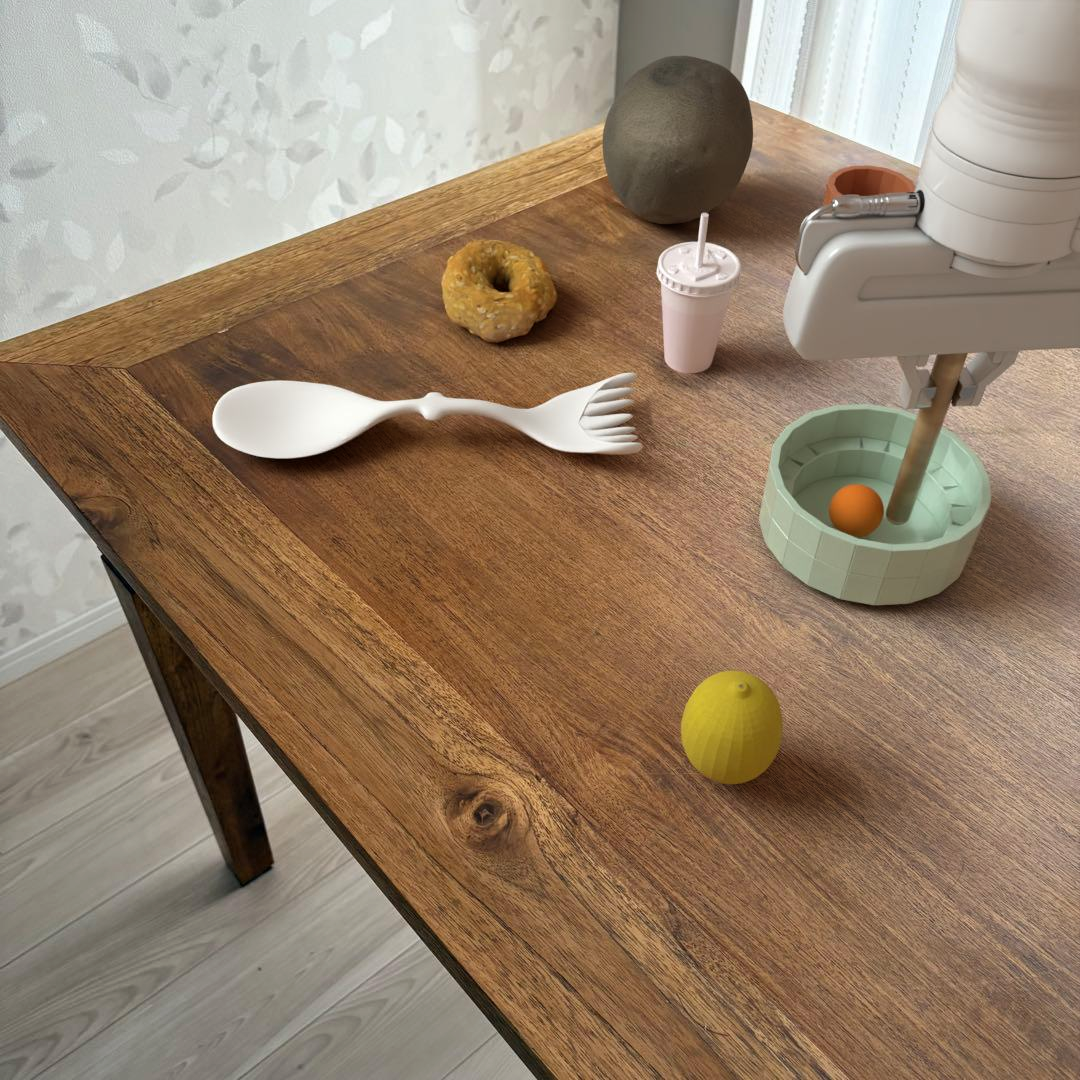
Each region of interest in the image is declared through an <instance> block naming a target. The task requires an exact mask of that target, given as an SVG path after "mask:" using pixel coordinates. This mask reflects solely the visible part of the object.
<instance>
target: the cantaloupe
mask: <svg viewBox="0 0 1080 1080" xmlns="http://www.w3.org/2000/svg"><path fill="white" fill-rule="evenodd" d="M749 99H750V98H749V95H748V93H747V91H746V90H745V87H744V85H743V84H742V83H741V81H740V80H739V79H738V78H737V77H736V75H735V74H734V73H732V71H731V70H729V69H728V68H727V67H725V66H723V65H721V64H719V63H716V62H713V61H711V60H707V59H703V58H700V57H696V56H690V55H670V56H664V57H661V58H658V59H657V60H653V61H652V62H650V63H648V64H646V65H645V66H644V67H643V68H640V69H639V70H637V71H636V72H635V73H633V74H632V76H631V77H629V79H628V80H627V81H626V82H625V83H624V84H623V85H622V87H621V89H620V90H619V92H618V93H617V95H616V97H615V100H614V102H613V103H612V105H611V106H610V109H609V110H608V112H607V115H606V118H605V122H604V126H603V132H602V147H601V148H602V157H603V163H604V167H605V171H606V175H607V178H608V181H609V184H610V186H611V188H612V191H613V192H614V194H615V196H616V197H617V198H618V201H619V202H621V203H622V204H623V205H624V206H625V207H626V208H627V209H628V210H629V211H630V212H632V213H633V214H634V215H636V216H637V217H639V218H640V219H642V220H644V221H647V222H650V223H653V224H658V225H671V224H673V225H674V224H685V223H689V222H692V221H694V220H696V219H700V218H701V214H702V213H707V214H709V212H710V211H712V210H713V209H715V208H717V207H718V206H719V205H721V204H722V203H724V202H725V201H726V200H728V198H730V196H731V195H732V194H733V192H734V191H735V190H736V188H737V186H738V185H739V184H740V182H741V180H742V178H743V175H744V173H745V170H746V168H747V166H748V162H749V160H750V157H751V153H752V149H753V144H754V143H753V142H754V120H753V113H752V108H751V104H750V100H749Z"/></svg>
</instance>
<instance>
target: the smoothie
mask: <svg viewBox="0 0 1080 1080" xmlns="http://www.w3.org/2000/svg"><path fill="white" fill-rule="evenodd" d="M699 219H700V220H699V229H698V237H697V241H687V242H681V243H677V244H674V245H671V246H669V247H667V249H665V250H664V251H662V253H660V255H659V257H658V259H657V267H656V276H657V278H658V281H659V282H660V294H661V312H662V313H661V314H662V333H663V334H662V335H663V337H662V338H663V354H664V363H666V365H667V366H668V367H669V368H670V369H672V370H674V371H676V372H679V373H682V374H698V373H702V372H704V371H706V370H708V369H709V368H710V367H711V366H712V363H713V360H714V357H715V354H716V349H717V347H718V343H719V339H720V337H721V332H722V329H723V327H724V322H725V320H726V319H725V318H726V316H727V312H728V308H729V305H730V302H731V299H732V295H733V292H734V289H735V288H737V286H738V285H739V283H740V281H741V278H742V277H741V271H742V263H741V261H740V259H739V257H738V256H737V255H736V254H735V253H733V252H732V251H731V250H729V249H728V248H726V247H724V246H722V245H718V244H715V243H713V242H706V241H707V232H708V224H709V213H702V214H701V217H700V218H699Z"/></svg>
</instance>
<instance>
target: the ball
mask: <svg viewBox="0 0 1080 1080" xmlns="http://www.w3.org/2000/svg"><path fill="white" fill-rule="evenodd" d="M883 515H884V506H883V502H882V500H881V498H880V496H879V495H878V494H877V493H876V492H875V491H874V490H873V489H871V488H870V487H868V486H865V485H860V484H853V485H849V486H846V487H844V488H842V489H840V490H839V491H838V492H837V493H836V494H835V495H834V496H833V498H832V500H831V503H830V506H829V516H830V519H831V522H832V524H833V525H834V527H835V528H836V529H837V530H838V531H841V532H843V533H846V534H848V535H851V536H853V537H862V536H866V535H868V534H870V533H872V532H873V531H875V530H876V529H877V528H878V526H879V525H880V523H881V521H882V519H883Z"/></svg>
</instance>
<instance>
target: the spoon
mask: <svg viewBox="0 0 1080 1080" xmlns="http://www.w3.org/2000/svg"><path fill="white" fill-rule="evenodd" d="M638 378H639V375H638V374H637V373H635V372H622V373H619V374H616V375H614V376H610V377H608V378H605V379H603V380H600V381H598V382H595V383H593V384H590V385H586V386H584V387H580V388H577V389H573V390H569V391H567V392H564V393H561V394H559V395H557V396H555V397H553V398H551V399H549V400H548V401H547V400H546V402H543V403H542V404H540V405H538V406H535V407H530V408H517V407H511V406H508V405H504V404H500V403H497V402H492V401H488V400H482V399H474V398H454V397H448V396H445V395H443V394H442V393H441V392H438V391H432V392H431V391H430V392H428V393H426V395H425V396H424V397H419V398H413V399H401V400H400V399H399V400H379V399H375V398H372V397H368V396H365V395H362V394H359V393H356V392H355V391H352V390H349V389H345V388H343V387H339V386H335V385H332V384H325V383H317V382H307V381H298V380H297V381H296V380H265V381H257V382H252V383H247V384H244V385H240V386H237V387H235V388H232V389H230V390H229V391H227V392H226V393H224V394H223V395H222V396H221V397H220V398H219V399H218V401H217V403H215V406H214V409H213V411H212V412H213V413H212V417H211V418H212V420H211V421H212V428H213V431H214V433H215V434H216V436H217V437H218V438H219V439H220V440H221V441H222V442H223V443H224V444H226V445H227V446H228V447H231V448H233V449H235V450H237V451H240V452H242V453H245V454H247V455H252V456H256V457H261V458H266V459H276V460H277V459H278V460H279V459H280V460H281V459H282V460H283V459H284V460H285V459H286V460H287V459H288V460H289V459H302V458H308V457H312V456H313V457H314V456H316V455H321V454H323V453H326V452H330V451H331V450H334V449H336V448H339V447H341V446H342V445H345V444H346V443H348V442H350V441H352V440H353V439H355V438H357V437H359V436H360V435H362V434H363V433H365V432H366V431H367V430H368V431H369V429H371V428H373V427H374V426H376V425H378V424H379V423H382V422H383V421H386V420H388V419H391V418H394V417H398V416H403V415H410V414H411V415H413V414H417V415H421V416H423V419H424V420H426V421H428V422H436V421H439V420H441V418H443V417H447V416H449V417H450V416H476V417H477V416H478V417H484V418H488V419H491V420H495V421H498V422H500V423H503V424H504V425H507V426H510V427H511V428H514V429H515V430H518V431H519V432H521V433H523V434H524V435H526V436H528V437H530V438H531V439H533V440H534V441H536V442H537V443H539V444H541V445H543V446H545V447H547V448H549V449H552V450H554V451H558V452H562V453H563V452H564V453H571V454H572V453H573V454H600V455H631V454H635V453H638V452H640V451H641V450H643V447H644V446H643V444H642V443H641V442H635V441H637V440H638V439H639V436H638V435H635V434H631V433H634V431H635V430H636V429H637V428H636V427H635V426H619V425H622V424H625V423H627V422H629V421H630V420H631V419H632V418H633V417H634V415H632V413H631V414H630V413H616V414H613V413H614V412H617V411H620V410H623V409H625V408H627V407H629V406H630V405H632V404H634V402H635V400H633V399H629V398H628V399H627V398H626V399H622V398H625V397H627V396H629V395H631V394H633V393H634V392H635V391H636V389H635V388H634V387H629V386H628V387H624V386H627V385H630V384H632V383H633V384H634V383H635V382H636V381H637V380H638ZM611 413H612V414H611ZM617 426H618V427H617Z"/></svg>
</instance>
